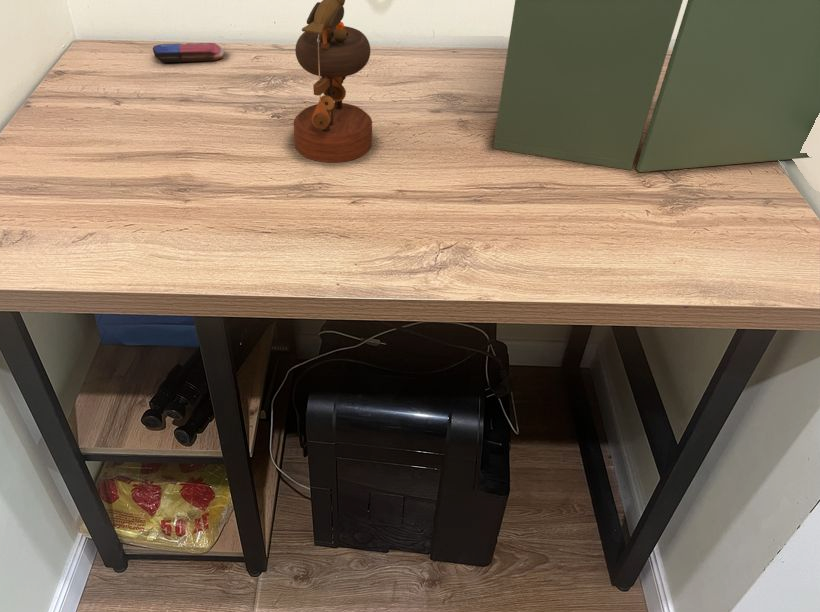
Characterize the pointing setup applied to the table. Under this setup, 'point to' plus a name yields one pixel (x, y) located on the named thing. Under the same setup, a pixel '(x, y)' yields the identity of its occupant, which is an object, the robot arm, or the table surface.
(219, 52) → the eraser
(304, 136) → the music box
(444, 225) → the table surface
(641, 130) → the cupboard
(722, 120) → the door
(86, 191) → the table surface
